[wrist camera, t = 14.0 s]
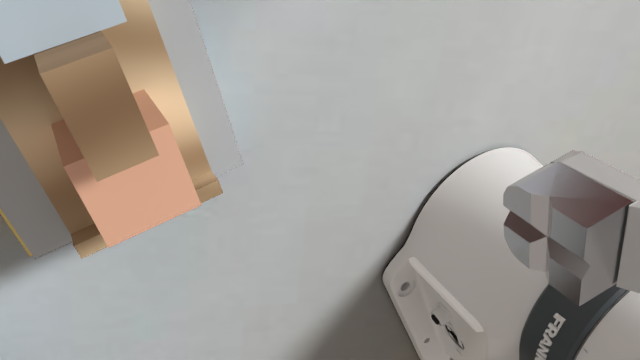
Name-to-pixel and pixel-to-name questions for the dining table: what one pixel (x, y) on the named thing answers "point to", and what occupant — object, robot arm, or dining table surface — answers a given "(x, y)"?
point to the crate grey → (51, 23)
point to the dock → (202, 101)
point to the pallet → (44, 112)
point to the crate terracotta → (132, 181)
